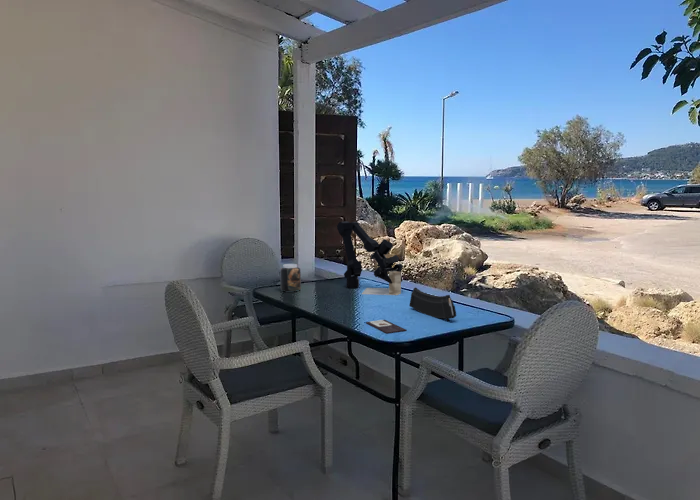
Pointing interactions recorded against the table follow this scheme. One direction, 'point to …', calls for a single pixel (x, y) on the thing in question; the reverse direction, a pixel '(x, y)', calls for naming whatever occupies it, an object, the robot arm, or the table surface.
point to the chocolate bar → (386, 326)
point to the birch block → (395, 283)
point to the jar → (290, 277)
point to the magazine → (433, 304)
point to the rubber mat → (377, 291)
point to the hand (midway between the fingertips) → (396, 282)
